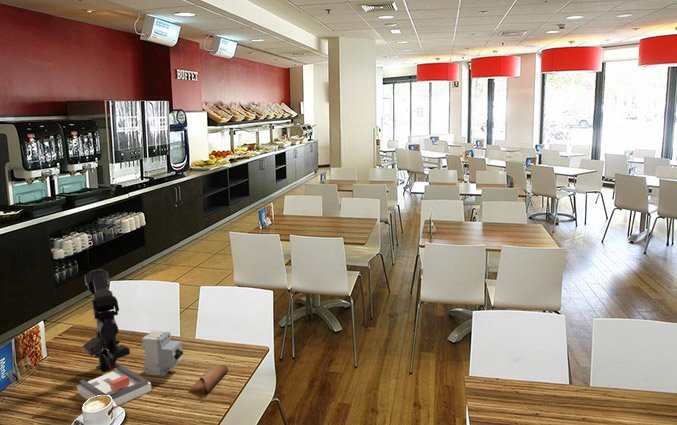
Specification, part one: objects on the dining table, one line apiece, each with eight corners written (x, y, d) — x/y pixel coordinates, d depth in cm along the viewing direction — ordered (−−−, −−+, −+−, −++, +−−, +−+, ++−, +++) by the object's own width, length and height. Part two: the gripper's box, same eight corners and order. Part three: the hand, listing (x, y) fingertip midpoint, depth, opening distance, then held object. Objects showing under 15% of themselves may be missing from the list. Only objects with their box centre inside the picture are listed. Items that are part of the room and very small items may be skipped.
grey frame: (79, 384, 202) (79, 381, 201) (120, 368, 214) (120, 364, 213) (106, 402, 189) (106, 398, 189) (148, 384, 201) (148, 380, 201)
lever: (111, 395, 197) (109, 381, 196) (126, 388, 202) (125, 375, 201) (114, 397, 196) (113, 383, 195) (130, 390, 200) (128, 377, 199)
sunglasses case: (208, 369, 217) (215, 357, 215) (223, 379, 216) (230, 366, 214) (186, 393, 200) (193, 379, 198) (202, 403, 199) (209, 390, 197)
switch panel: (78, 393, 201) (77, 385, 201) (123, 374, 215) (122, 367, 214) (104, 411, 189) (103, 403, 188) (151, 390, 202) (150, 382, 202)
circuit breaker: (178, 376, 212) (175, 340, 209) (144, 374, 215) (141, 338, 212) (187, 367, 219) (184, 332, 216) (154, 365, 222) (151, 330, 219)
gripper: (72, 329, 197) (77, 369, 200) (97, 342, 185) (102, 385, 188) (102, 319, 205) (107, 358, 208) (128, 332, 193) (132, 372, 196)
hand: (111, 368), depth 200 cm, fingers closed
